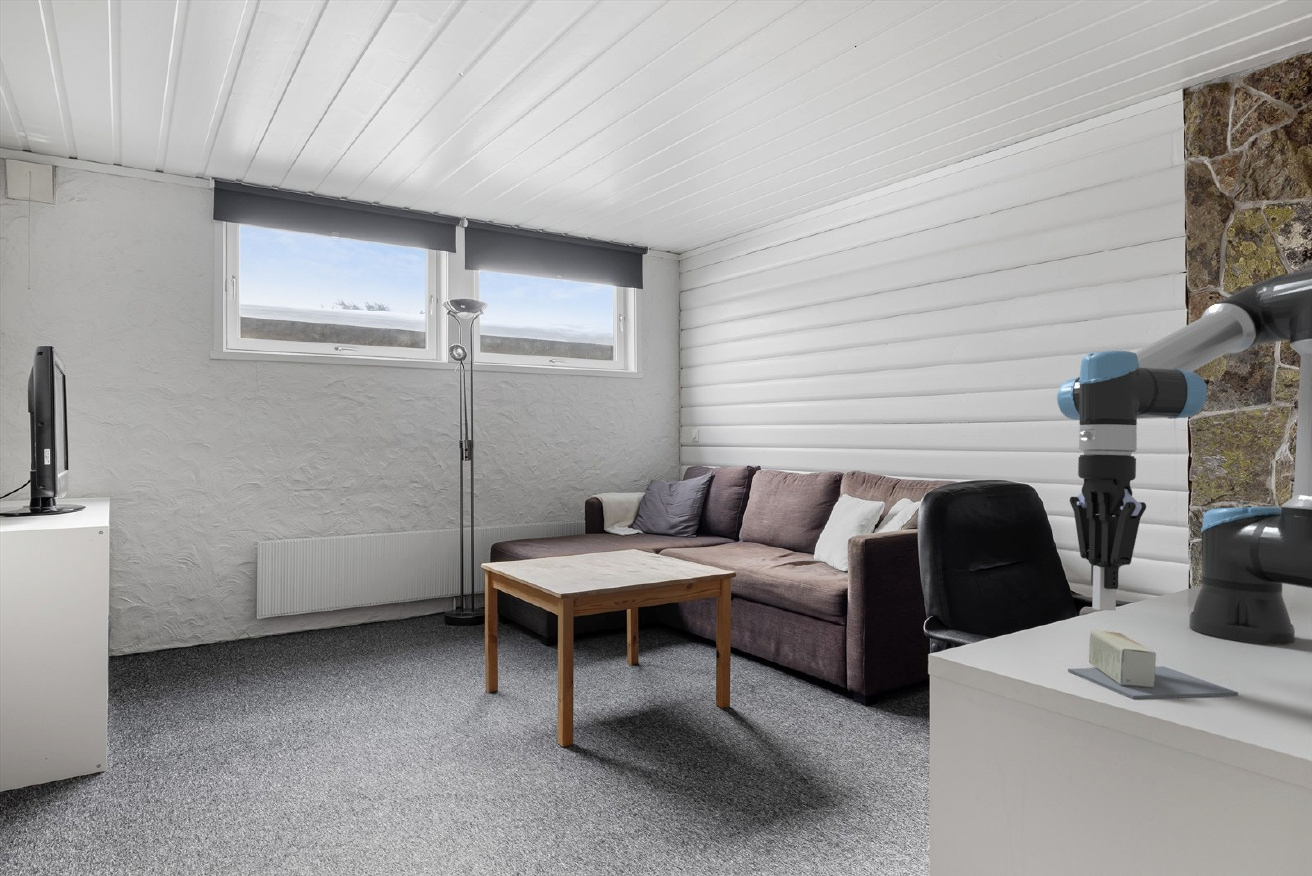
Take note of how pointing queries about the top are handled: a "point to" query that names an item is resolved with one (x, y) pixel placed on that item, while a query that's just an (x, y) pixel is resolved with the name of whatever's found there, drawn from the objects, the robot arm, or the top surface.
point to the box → (1122, 659)
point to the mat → (1158, 684)
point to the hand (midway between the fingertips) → (1103, 609)
